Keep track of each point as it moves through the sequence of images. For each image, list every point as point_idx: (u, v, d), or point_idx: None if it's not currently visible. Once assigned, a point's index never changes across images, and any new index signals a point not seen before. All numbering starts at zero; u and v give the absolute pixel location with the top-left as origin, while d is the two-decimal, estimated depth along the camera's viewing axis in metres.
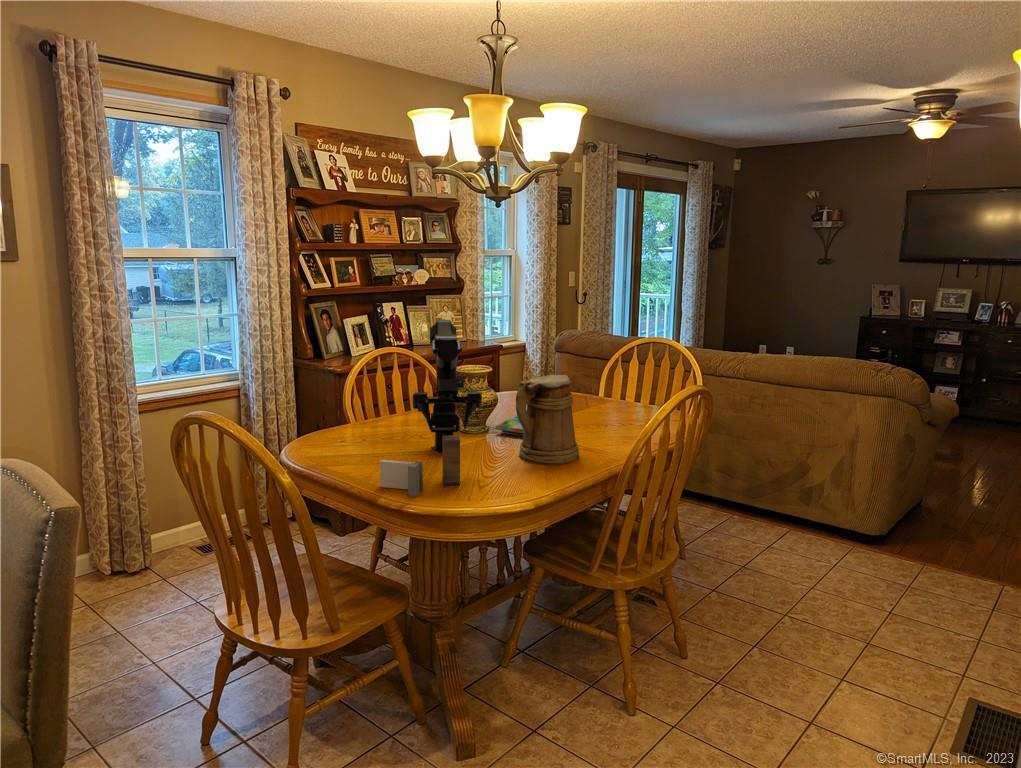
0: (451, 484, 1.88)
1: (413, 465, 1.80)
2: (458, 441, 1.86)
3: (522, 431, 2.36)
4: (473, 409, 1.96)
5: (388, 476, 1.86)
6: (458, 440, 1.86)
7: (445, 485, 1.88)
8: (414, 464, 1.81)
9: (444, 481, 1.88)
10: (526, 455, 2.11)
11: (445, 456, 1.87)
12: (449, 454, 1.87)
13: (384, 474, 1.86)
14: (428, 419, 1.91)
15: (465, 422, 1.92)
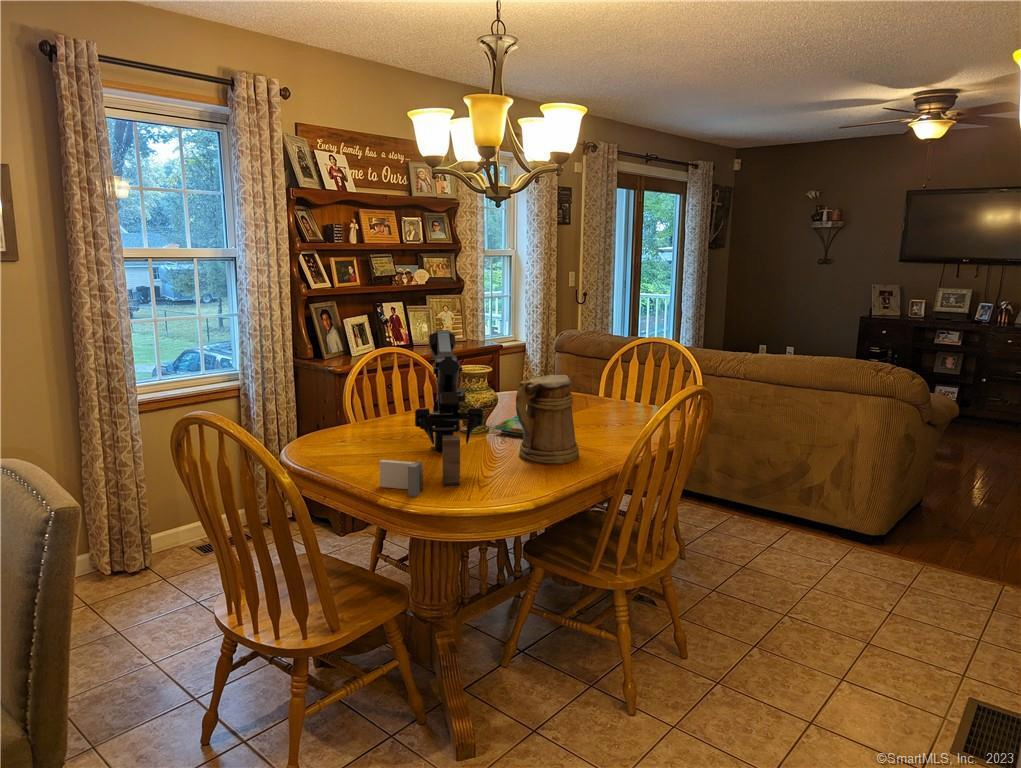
0: (451, 484, 1.88)
1: (413, 465, 1.80)
2: (458, 441, 1.86)
3: (521, 431, 2.36)
4: (475, 426, 1.98)
5: (388, 476, 1.86)
6: (458, 440, 1.86)
7: (445, 485, 1.88)
8: (414, 464, 1.81)
9: (444, 481, 1.88)
10: (526, 455, 2.11)
11: (445, 456, 1.87)
12: (449, 454, 1.87)
13: (384, 474, 1.86)
14: (430, 433, 1.92)
15: (467, 436, 1.93)
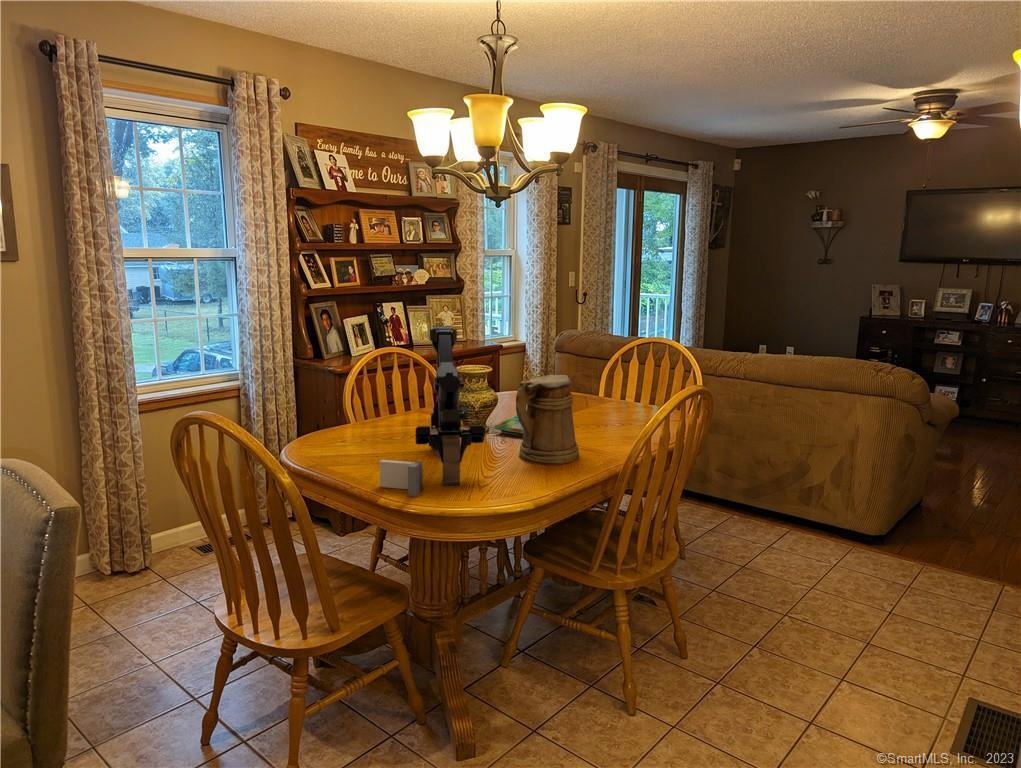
0: (451, 484, 1.88)
1: (413, 465, 1.80)
2: (458, 441, 1.86)
3: (520, 431, 2.36)
4: (468, 443, 1.94)
5: (388, 476, 1.86)
6: (458, 440, 1.86)
7: (445, 485, 1.88)
8: (414, 464, 1.81)
9: (444, 481, 1.88)
10: (526, 455, 2.11)
11: (445, 456, 1.87)
12: (449, 454, 1.87)
13: (384, 474, 1.86)
14: (440, 451, 1.88)
15: (461, 454, 1.89)
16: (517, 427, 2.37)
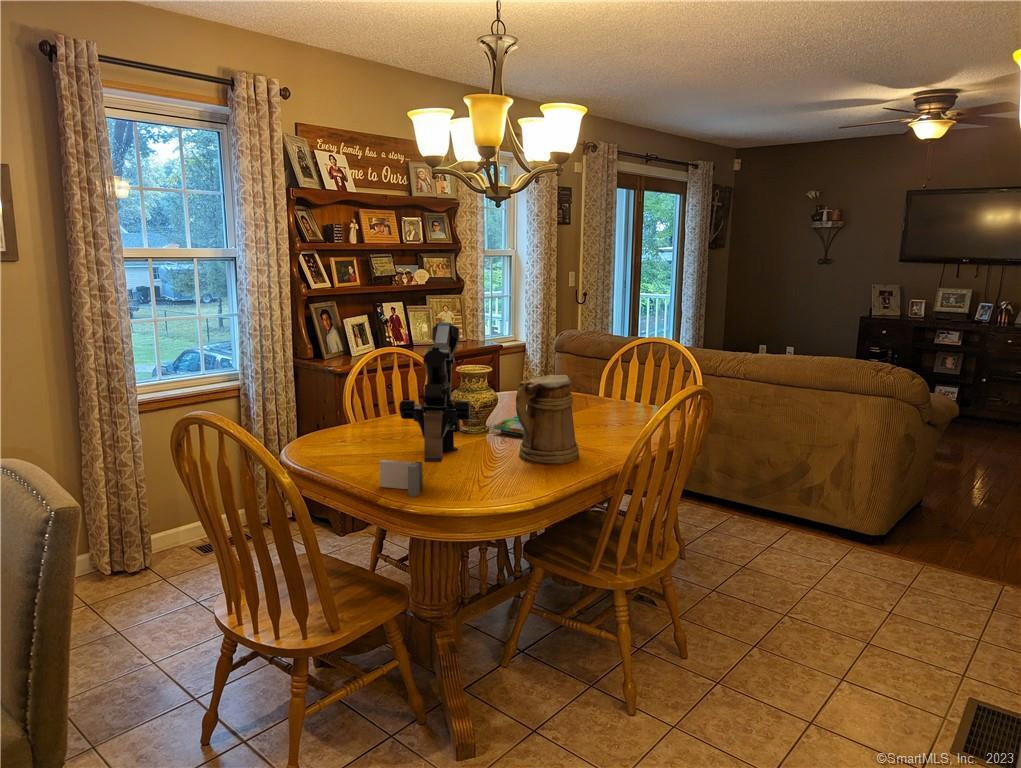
0: (432, 459, 1.87)
1: (413, 465, 1.80)
2: (439, 416, 1.84)
3: (519, 431, 2.36)
4: (453, 420, 1.92)
5: (388, 476, 1.86)
6: (439, 415, 1.84)
7: (426, 460, 1.87)
8: (414, 464, 1.81)
9: (425, 456, 1.87)
10: (526, 455, 2.11)
11: (426, 430, 1.85)
12: (430, 429, 1.85)
13: (384, 474, 1.86)
14: (422, 426, 1.87)
15: (442, 430, 1.87)
16: (516, 427, 2.37)
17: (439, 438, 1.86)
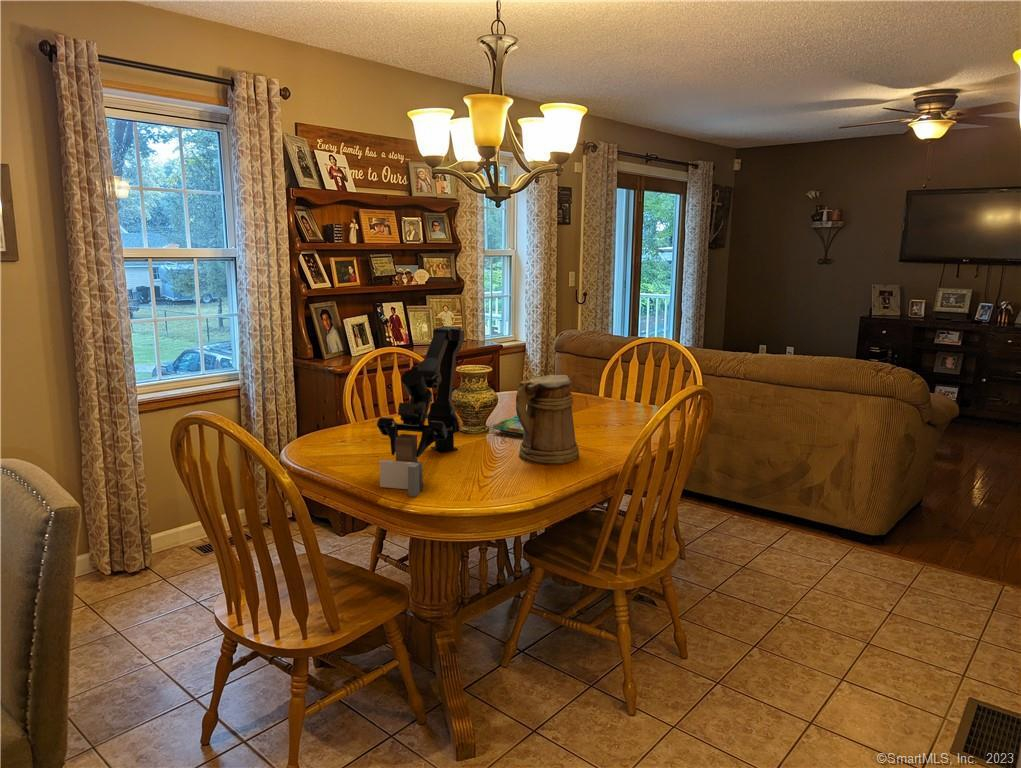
0: None
1: (413, 465, 1.80)
2: (409, 441, 1.86)
3: (518, 431, 2.36)
4: (433, 439, 1.92)
5: (388, 476, 1.86)
6: (409, 440, 1.86)
7: None
8: (414, 464, 1.81)
9: None
10: (526, 455, 2.11)
11: (397, 454, 1.88)
12: (401, 453, 1.87)
13: (384, 474, 1.86)
14: (391, 444, 1.90)
15: (418, 449, 1.88)
16: (515, 427, 2.37)
17: None
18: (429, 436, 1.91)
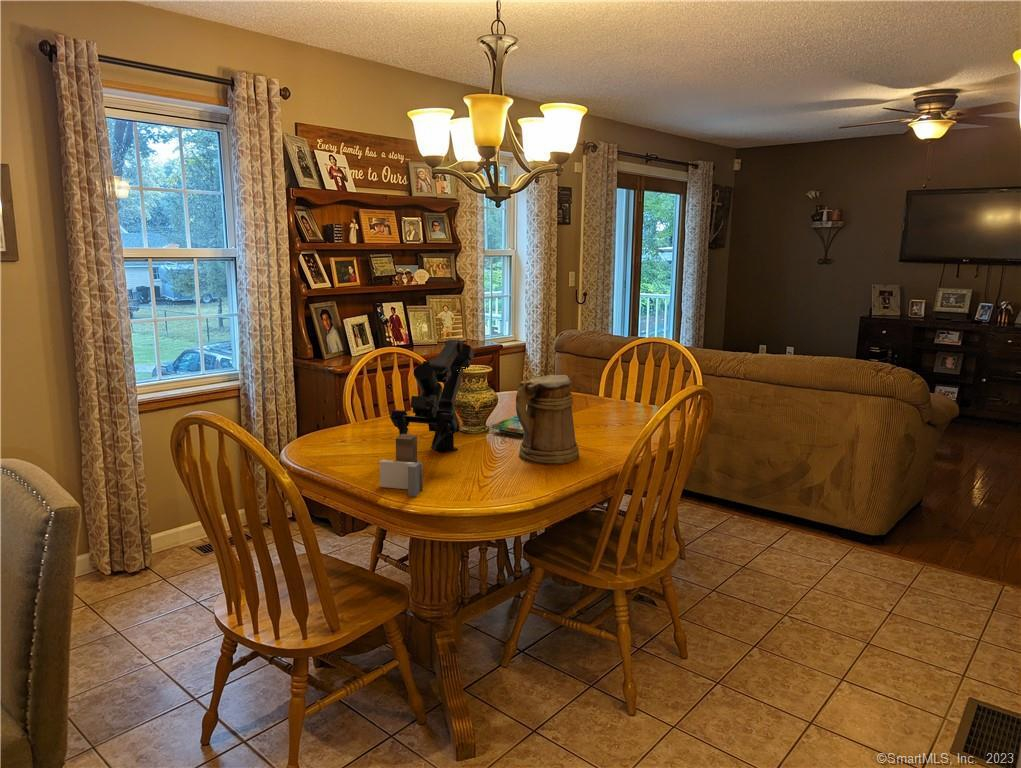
0: None
1: (413, 465, 1.80)
2: (409, 441, 1.86)
3: (517, 431, 2.36)
4: (448, 431, 2.01)
5: (388, 476, 1.86)
6: (409, 440, 1.86)
7: None
8: (414, 464, 1.81)
9: None
10: (526, 455, 2.11)
11: (397, 454, 1.88)
12: (401, 453, 1.87)
13: (384, 474, 1.86)
14: None
15: (433, 440, 1.96)
16: (513, 427, 2.37)
17: None
18: (444, 428, 2.00)
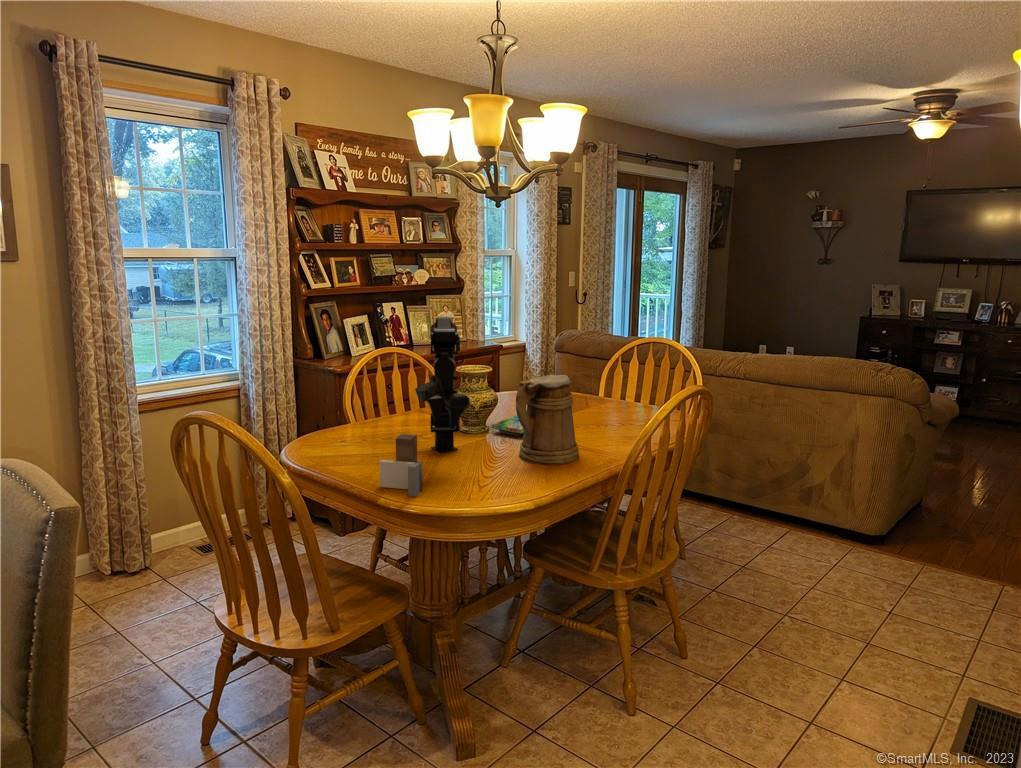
0: None
1: (413, 465, 1.80)
2: (409, 440, 1.86)
3: (516, 431, 2.36)
4: None
5: (388, 476, 1.86)
6: (409, 440, 1.86)
7: None
8: (414, 464, 1.81)
9: None
10: (526, 455, 2.11)
11: (397, 454, 1.88)
12: (401, 453, 1.87)
13: (384, 474, 1.86)
14: (432, 413, 2.08)
15: (450, 423, 2.00)
16: (513, 427, 2.37)
17: None
18: None
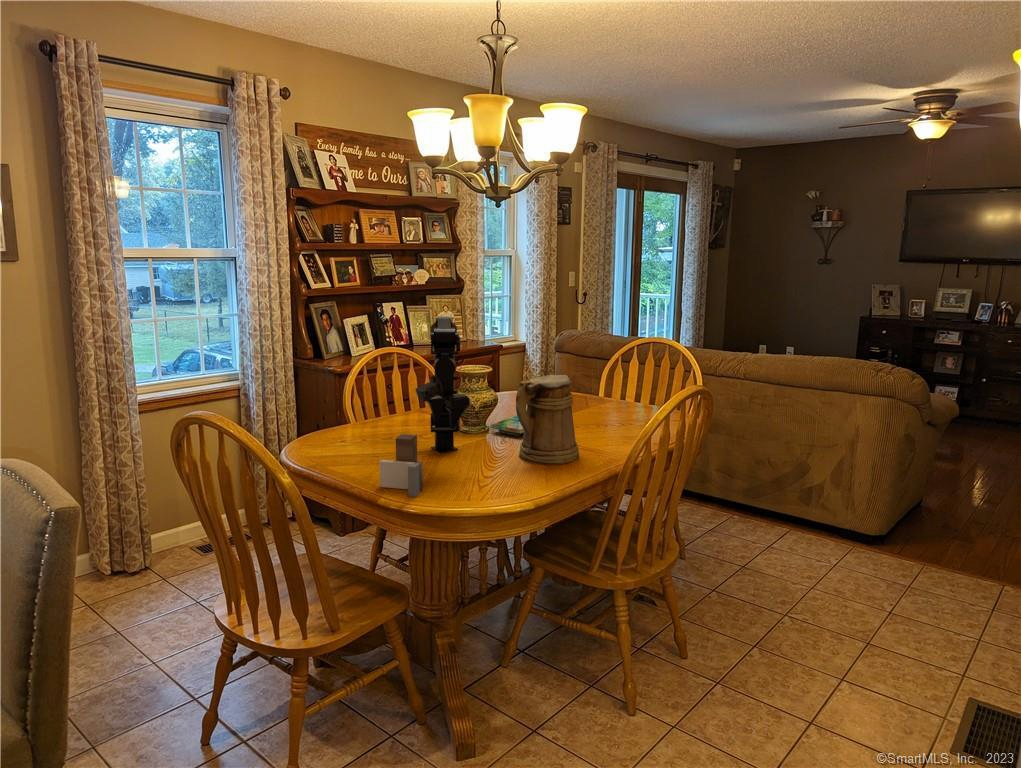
0: None
1: (413, 465, 1.80)
2: (409, 441, 1.86)
3: (515, 431, 2.36)
4: None
5: (388, 476, 1.86)
6: (409, 440, 1.86)
7: None
8: (414, 464, 1.81)
9: None
10: (526, 455, 2.11)
11: (397, 454, 1.88)
12: (401, 453, 1.87)
13: (384, 474, 1.86)
14: (432, 413, 2.08)
15: (450, 423, 2.00)
16: (512, 427, 2.37)
17: None
18: None
